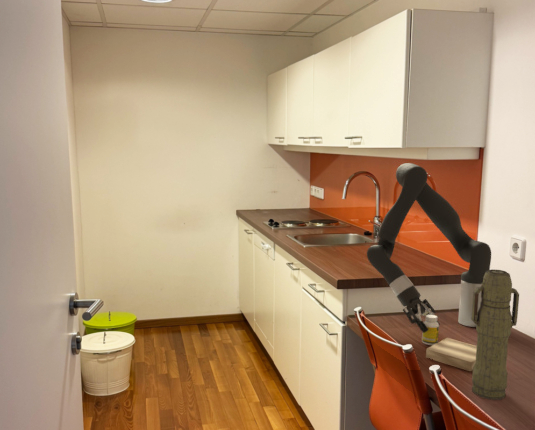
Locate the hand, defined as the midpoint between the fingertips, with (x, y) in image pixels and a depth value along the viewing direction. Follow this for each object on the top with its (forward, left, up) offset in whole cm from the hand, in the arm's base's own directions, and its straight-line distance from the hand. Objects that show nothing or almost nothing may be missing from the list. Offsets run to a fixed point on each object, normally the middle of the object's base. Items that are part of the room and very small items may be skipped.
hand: (432, 328), depth 184 cm
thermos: (+24, +29, -6) cm, 38 cm away
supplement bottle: (0, -1, -6) cm, 6 cm away
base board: (+6, +12, -5) cm, 15 cm away
